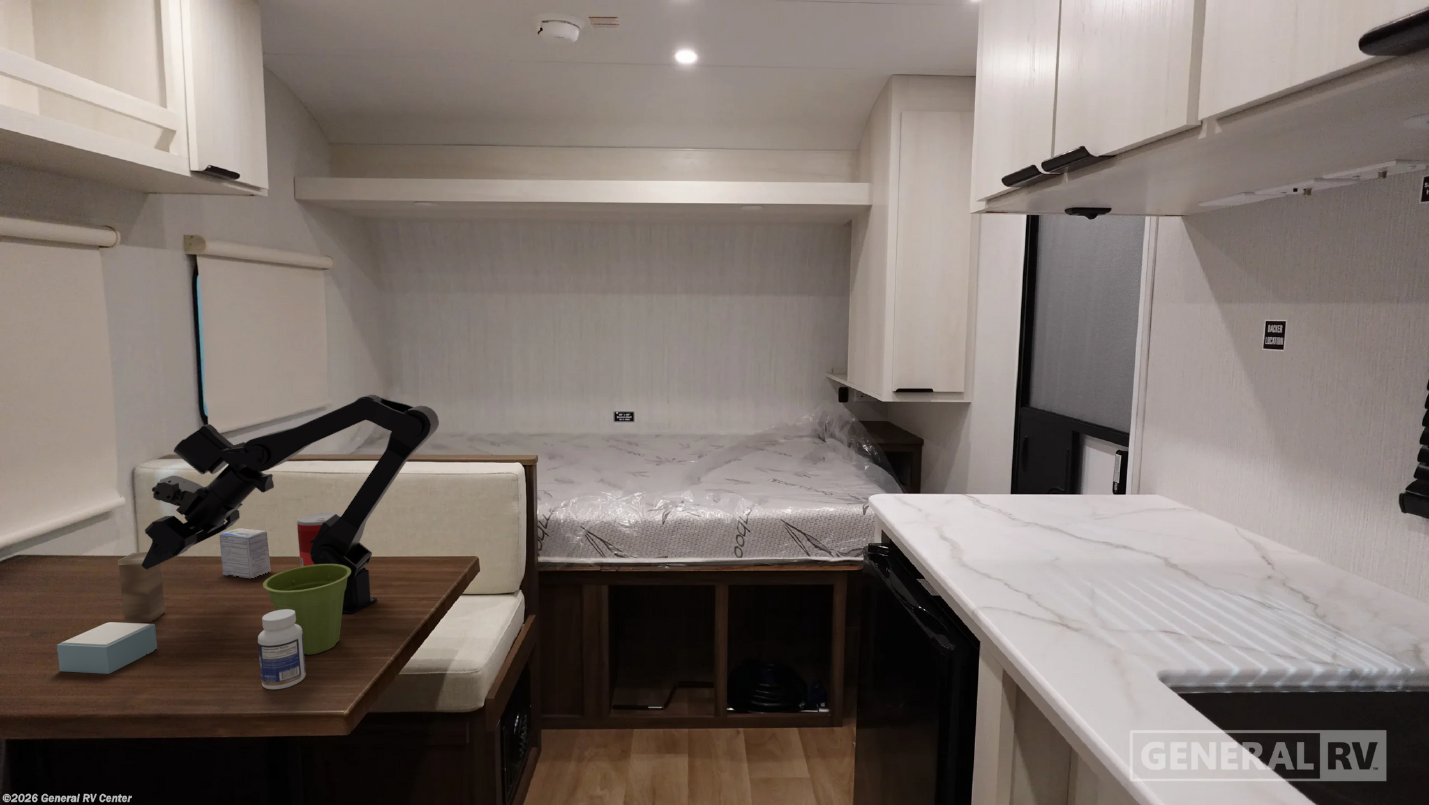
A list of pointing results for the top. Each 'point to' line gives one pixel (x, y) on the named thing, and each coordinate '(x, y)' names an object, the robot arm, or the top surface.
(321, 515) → the canned food
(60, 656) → the stand
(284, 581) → the plant pot
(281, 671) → the pill bottle
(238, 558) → the medicine box
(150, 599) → the beige block
